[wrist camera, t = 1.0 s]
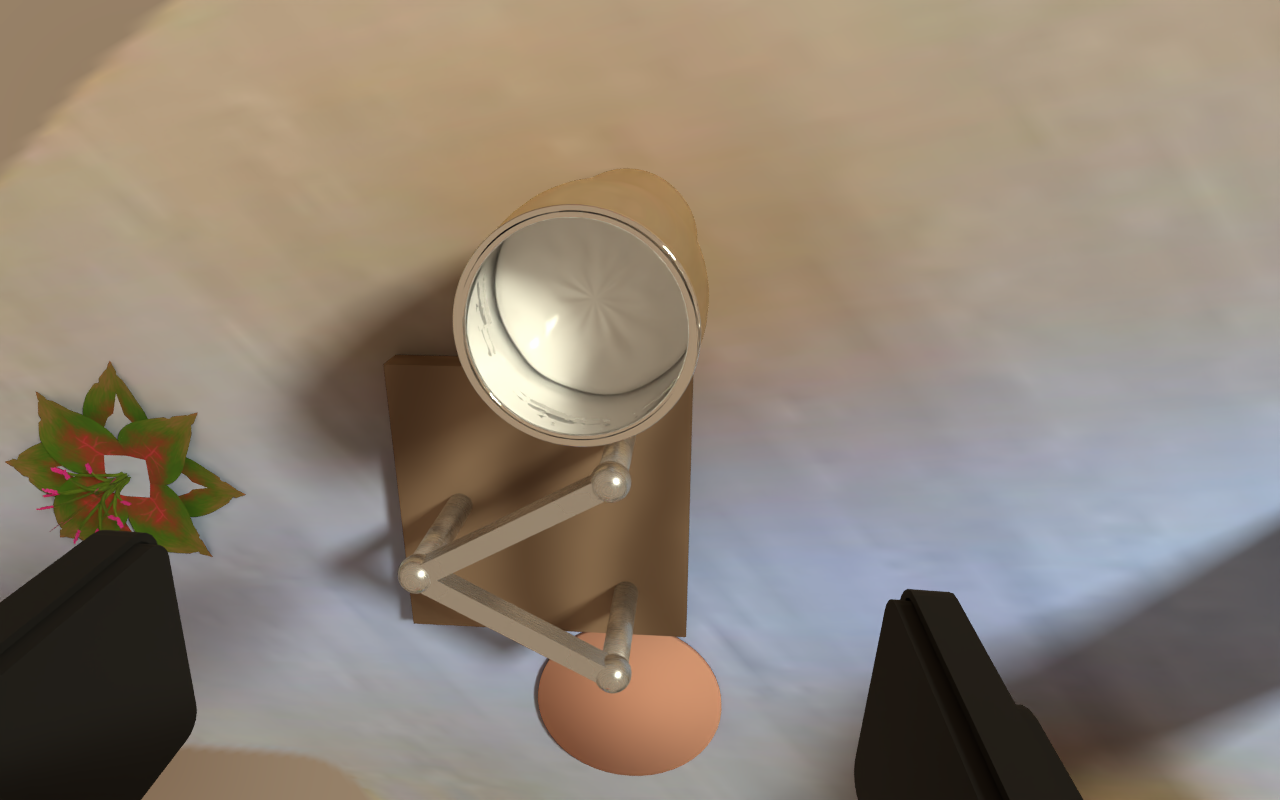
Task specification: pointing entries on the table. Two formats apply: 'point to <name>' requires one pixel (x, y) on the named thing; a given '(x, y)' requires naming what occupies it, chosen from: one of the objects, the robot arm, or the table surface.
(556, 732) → the pad
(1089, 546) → the table surface
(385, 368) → the board
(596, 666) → the bent wire
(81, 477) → the lily flower
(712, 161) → the table surface
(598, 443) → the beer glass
